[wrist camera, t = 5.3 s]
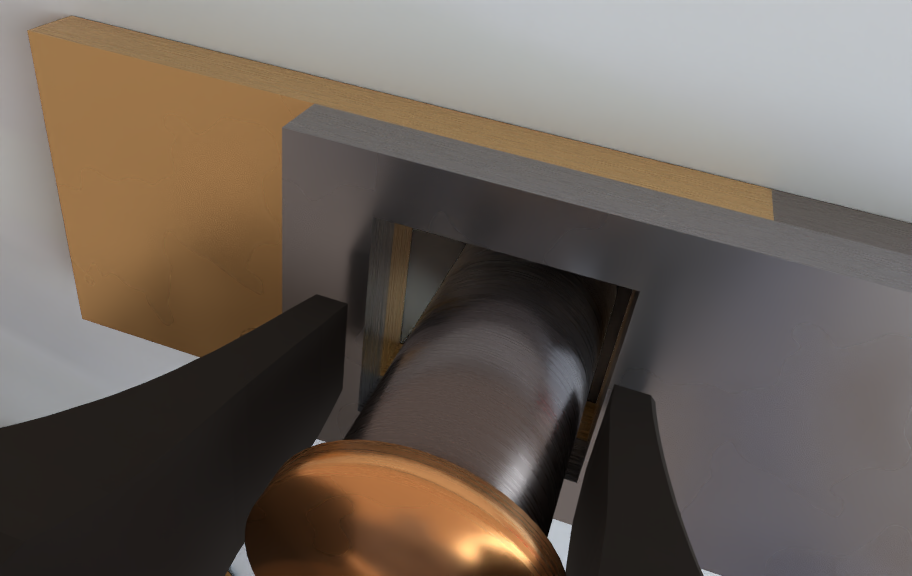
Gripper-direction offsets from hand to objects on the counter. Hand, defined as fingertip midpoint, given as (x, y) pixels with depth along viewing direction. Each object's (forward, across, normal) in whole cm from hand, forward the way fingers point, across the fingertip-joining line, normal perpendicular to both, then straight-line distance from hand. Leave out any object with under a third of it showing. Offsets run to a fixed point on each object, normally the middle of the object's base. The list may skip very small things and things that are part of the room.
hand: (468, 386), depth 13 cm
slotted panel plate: (+3, 0, 0) cm, 3 cm away
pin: (+3, 0, 0) cm, 3 cm away
